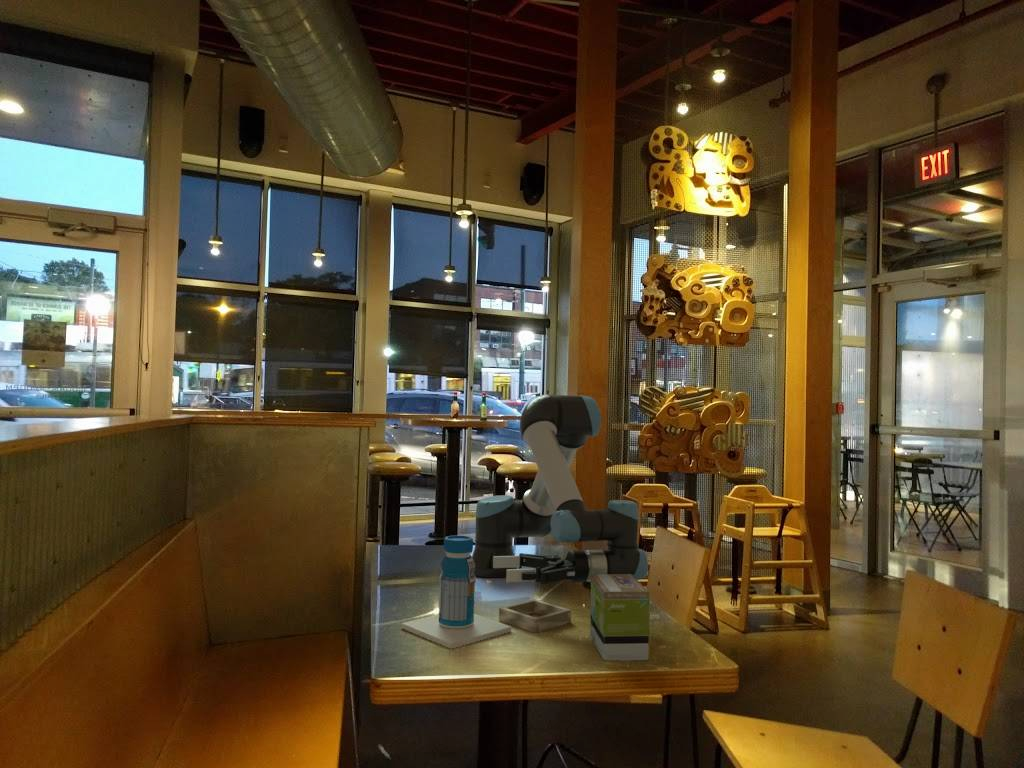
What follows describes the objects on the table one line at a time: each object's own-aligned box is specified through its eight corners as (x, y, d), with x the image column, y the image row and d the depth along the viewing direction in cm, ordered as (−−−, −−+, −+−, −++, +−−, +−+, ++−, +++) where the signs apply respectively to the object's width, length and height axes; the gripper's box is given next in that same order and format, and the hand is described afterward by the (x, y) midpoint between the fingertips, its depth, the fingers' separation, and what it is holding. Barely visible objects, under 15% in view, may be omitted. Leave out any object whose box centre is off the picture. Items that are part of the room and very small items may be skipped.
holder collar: (498, 620, 173) (499, 607, 173) (534, 610, 182) (534, 599, 182) (535, 633, 164) (536, 619, 164) (570, 622, 173) (571, 610, 173)
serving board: (401, 628, 165) (401, 623, 165) (460, 613, 177) (460, 609, 177) (451, 649, 152) (451, 643, 152) (511, 631, 164) (511, 626, 164)
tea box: (588, 637, 162) (590, 572, 162) (631, 637, 163) (633, 572, 163) (602, 661, 147) (604, 589, 147) (649, 661, 148) (651, 590, 148)
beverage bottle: (446, 631, 159) (448, 542, 160) (432, 621, 167) (435, 535, 167) (480, 627, 163) (482, 539, 164) (465, 617, 171) (467, 533, 171)
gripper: (603, 595, 160) (512, 599, 155) (568, 569, 185) (488, 572, 179) (604, 562, 161) (513, 565, 155) (568, 540, 185) (489, 542, 180)
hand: (499, 568), depth 167 cm, fingers open, 13 cm apart
